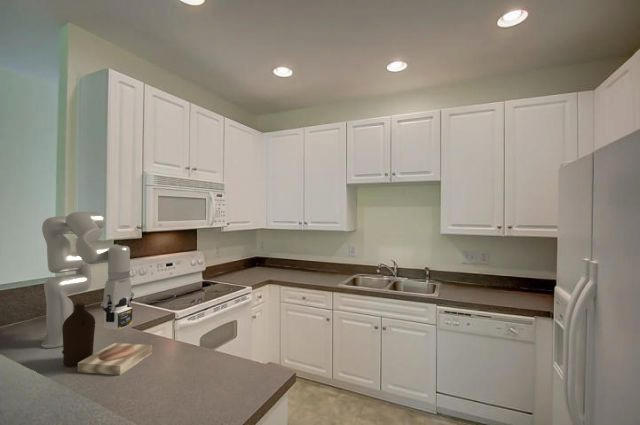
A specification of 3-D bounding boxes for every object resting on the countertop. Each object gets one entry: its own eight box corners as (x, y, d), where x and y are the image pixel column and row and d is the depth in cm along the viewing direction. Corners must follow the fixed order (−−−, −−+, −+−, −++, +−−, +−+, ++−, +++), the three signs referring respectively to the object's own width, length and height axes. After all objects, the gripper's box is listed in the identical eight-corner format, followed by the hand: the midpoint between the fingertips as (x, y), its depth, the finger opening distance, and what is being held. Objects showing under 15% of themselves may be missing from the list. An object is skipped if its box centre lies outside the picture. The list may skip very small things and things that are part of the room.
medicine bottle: (117, 330, 118) (118, 300, 118) (103, 328, 119) (103, 299, 119) (132, 324, 125) (133, 295, 125) (118, 322, 126) (118, 294, 126)
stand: (77, 371, 114) (77, 361, 114) (114, 350, 132) (114, 341, 132) (120, 375, 112) (120, 364, 112) (152, 353, 130) (152, 344, 130)
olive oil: (100, 356, 127) (102, 298, 127) (78, 368, 116) (80, 305, 116) (78, 354, 128) (79, 297, 128) (54, 367, 117) (55, 304, 117)
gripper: (126, 271, 131) (125, 311, 131) (92, 280, 114) (91, 325, 114) (142, 272, 131) (141, 311, 130) (110, 280, 113) (109, 326, 113)
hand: (118, 318), depth 122 cm, fingers closed on medicine bottle, 7 cm apart
